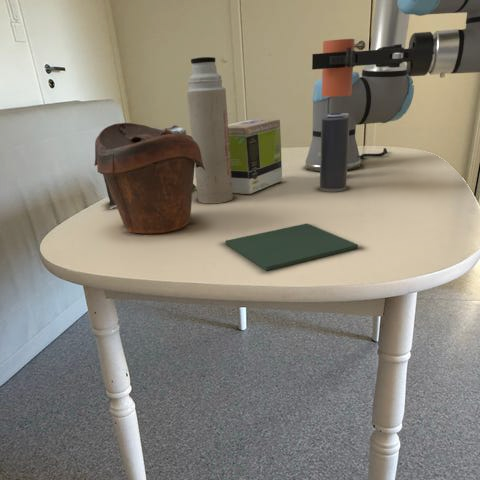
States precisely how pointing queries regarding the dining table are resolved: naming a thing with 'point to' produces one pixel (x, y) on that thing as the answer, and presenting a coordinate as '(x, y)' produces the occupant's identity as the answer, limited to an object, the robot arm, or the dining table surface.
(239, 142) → the tea box
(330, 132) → the dark grey cylinder
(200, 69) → the thermos bottle
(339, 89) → the orange cylinder
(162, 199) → the brown tapered pot
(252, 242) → the mat
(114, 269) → the dining table surface
